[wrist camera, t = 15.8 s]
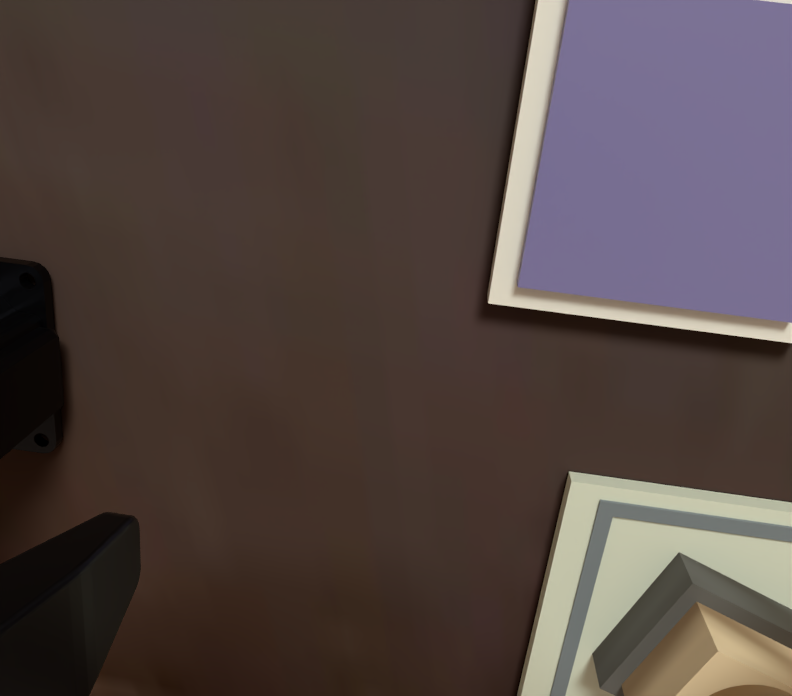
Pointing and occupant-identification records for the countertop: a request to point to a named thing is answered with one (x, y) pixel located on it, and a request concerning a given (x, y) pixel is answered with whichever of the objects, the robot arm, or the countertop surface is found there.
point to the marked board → (640, 565)
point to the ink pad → (653, 166)
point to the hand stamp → (698, 639)
